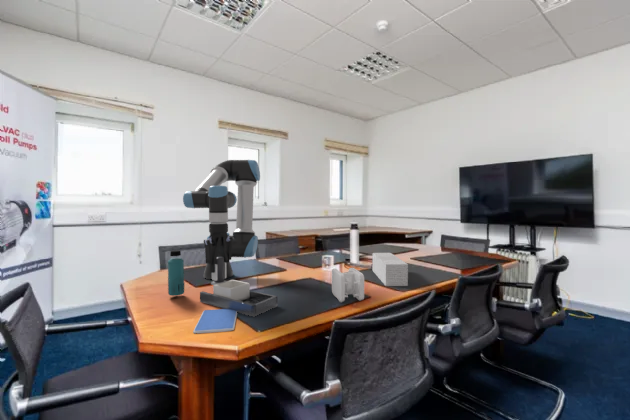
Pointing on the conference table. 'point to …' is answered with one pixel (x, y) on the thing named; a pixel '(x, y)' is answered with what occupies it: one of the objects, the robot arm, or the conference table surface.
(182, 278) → the beverage bottle
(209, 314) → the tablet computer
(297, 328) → the conference table surface
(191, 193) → the robot arm
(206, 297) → the bay
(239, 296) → the open tray with handle
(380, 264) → the grey rectangular block
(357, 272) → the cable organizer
